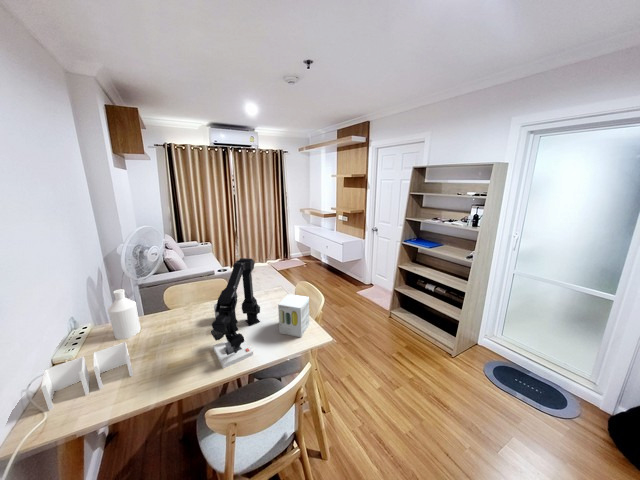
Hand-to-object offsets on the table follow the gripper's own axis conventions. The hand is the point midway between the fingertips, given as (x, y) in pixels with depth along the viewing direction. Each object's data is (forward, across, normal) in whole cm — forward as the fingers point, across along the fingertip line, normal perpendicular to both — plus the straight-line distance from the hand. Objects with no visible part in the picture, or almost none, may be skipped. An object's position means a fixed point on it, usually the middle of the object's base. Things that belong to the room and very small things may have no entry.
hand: (232, 347), depth 121 cm
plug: (+2, 0, 0) cm, 2 cm away
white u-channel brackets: (+3, -16, -52) cm, 54 cm away
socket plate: (+2, 0, 0) cm, 2 cm away
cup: (+3, -31, +5) cm, 32 cm away
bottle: (+3, -50, -40) cm, 64 cm away
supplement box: (+3, +2, +34) cm, 34 cm away
